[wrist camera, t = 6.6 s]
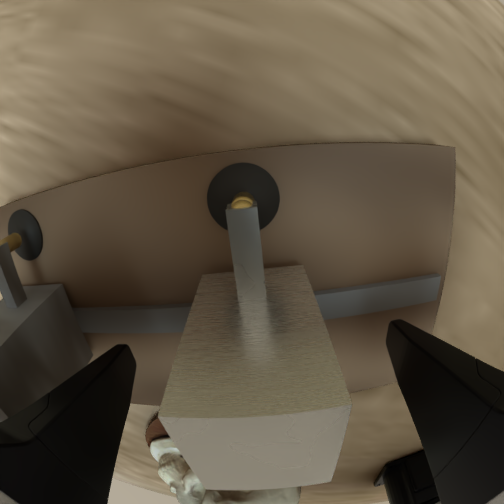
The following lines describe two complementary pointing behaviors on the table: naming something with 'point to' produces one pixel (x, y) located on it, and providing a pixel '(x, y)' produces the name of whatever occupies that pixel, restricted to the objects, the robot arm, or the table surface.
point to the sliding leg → (256, 374)
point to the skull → (188, 485)
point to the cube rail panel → (221, 256)
